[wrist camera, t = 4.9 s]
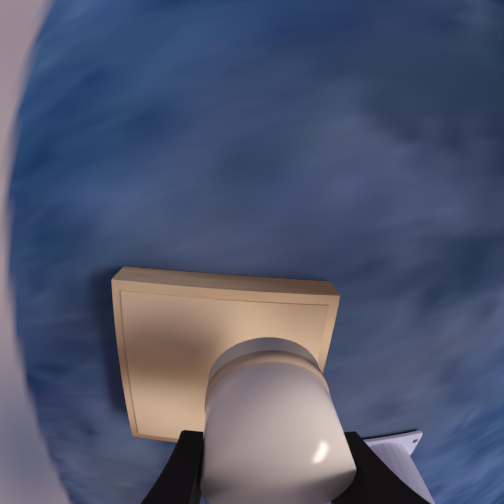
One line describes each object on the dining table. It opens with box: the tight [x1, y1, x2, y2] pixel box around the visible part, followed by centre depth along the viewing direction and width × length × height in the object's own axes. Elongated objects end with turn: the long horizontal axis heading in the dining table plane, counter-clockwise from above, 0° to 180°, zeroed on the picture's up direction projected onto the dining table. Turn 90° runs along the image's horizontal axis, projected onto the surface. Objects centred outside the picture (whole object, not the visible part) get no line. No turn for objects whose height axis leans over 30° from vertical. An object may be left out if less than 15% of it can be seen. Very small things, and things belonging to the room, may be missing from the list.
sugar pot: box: [200, 337, 356, 504], centre depth 10 cm, size 4×4×5 cm
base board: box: [111, 266, 340, 442], centre depth 17 cm, size 11×11×2 cm
